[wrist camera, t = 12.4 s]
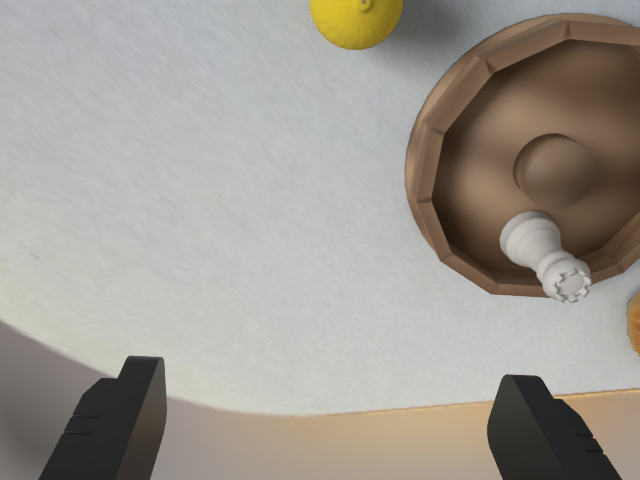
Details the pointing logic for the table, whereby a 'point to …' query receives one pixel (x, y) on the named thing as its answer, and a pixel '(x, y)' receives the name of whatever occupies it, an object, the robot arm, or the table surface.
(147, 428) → the robot arm
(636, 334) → the pastry
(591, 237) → the ring tray
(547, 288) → the rook chess piece
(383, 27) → the lemon
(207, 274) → the table surface
